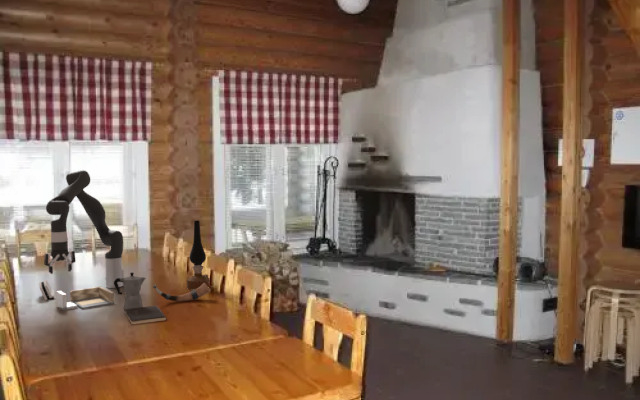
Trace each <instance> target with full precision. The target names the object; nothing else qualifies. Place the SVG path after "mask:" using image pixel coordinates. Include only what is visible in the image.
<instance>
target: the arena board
mask: <svg viewBox="0 0 640 400" xmlns="http://www.w3.org/2000/svg"><path fill="white" fill-rule="evenodd" d="M69 300H70V299H69ZM69 302H73V303H74V304H76V305H77V308H80V310H88V309H94V308H100V307H107V306H111V305H115V301H114V302H113V303H111V302H109V301H107V300H105V299H103V298H101V297H92V298H86V299H80V300H73V301H71V300H70V301H69Z"/></svg>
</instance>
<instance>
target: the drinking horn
mask: <svg viewBox="0 0 640 400" xmlns="http://www.w3.org/2000/svg"><path fill="white" fill-rule="evenodd" d="M152 288H154V289H155V291H156V292H157V293H158V294H159V295H160V296H161V297H163V298H164V300H166V301H173V302H188V301H192V300H193V301H195V300H198V299H199V298H202V297H203V296H205V295H208V293H210V292H212V290H211V289H210V288H208V286H207V285H206V284H205V283H203V284H202V285H201V286H200V287H198V288H197V289H194V290H193V289H192V290H189V291H190V292H187V293H185V294H180V295H171V294H170V292H168V293H164V292H163V291H161V290H160V289H159V288H158V287H157V284H154V285H152Z"/></svg>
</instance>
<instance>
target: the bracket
mask: <svg viewBox="0 0 640 400" xmlns="http://www.w3.org/2000/svg"><path fill="white" fill-rule="evenodd" d="M55 293H56V306H57V307H56V308H58V307H59V308H58V309H59V310H61V309H62V311H68V310H67V309H69V310H74V308H75V309H78V306H77V305H76V304H74V303H73V302H70V301H68V298H67V293H65V292H63V291H62V290H57V291H55Z"/></svg>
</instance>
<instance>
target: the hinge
mask: <svg viewBox="0 0 640 400" xmlns="http://www.w3.org/2000/svg"><path fill="white" fill-rule="evenodd" d="M39 289H40V292H41V294H42V296H43V298H44V301H47V300H48V299H52V298H53V299H54V300H56V291H55V289H53V288H52V287H51V286H50V283H49V281H48V280H47V279H46V280H43V281H41V282H39Z"/></svg>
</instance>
